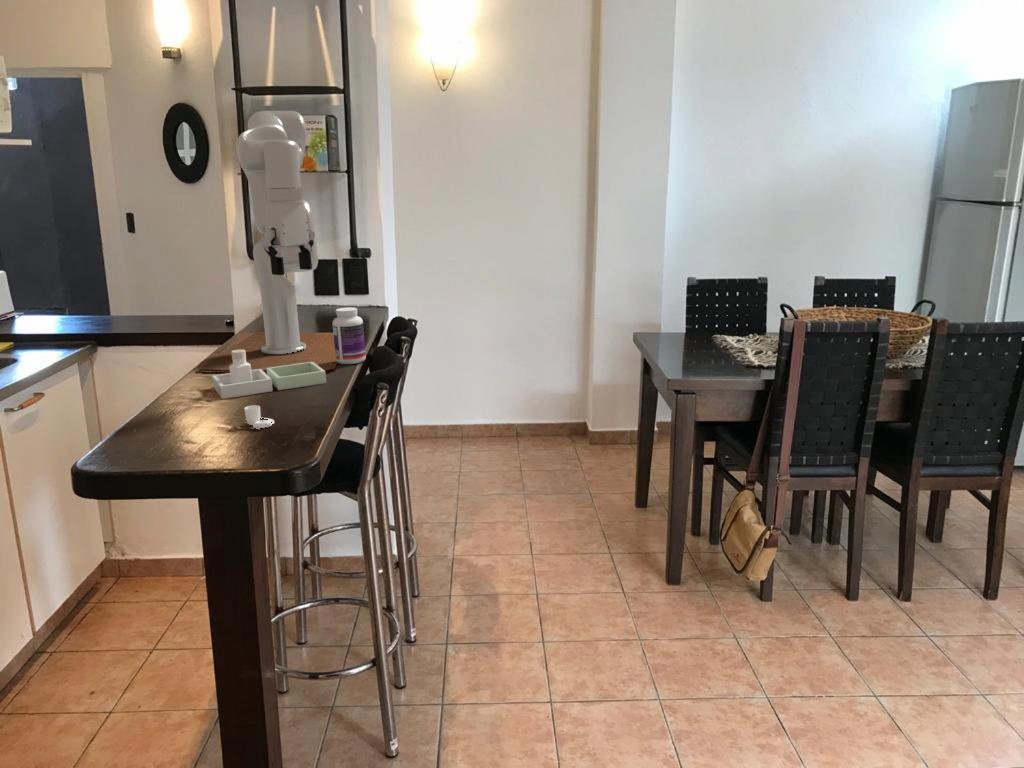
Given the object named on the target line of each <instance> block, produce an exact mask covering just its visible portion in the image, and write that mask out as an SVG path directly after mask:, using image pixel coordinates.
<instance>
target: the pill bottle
mask: <svg viewBox="0 0 1024 768" xmlns="http://www.w3.org/2000/svg"><path fill="white" fill-rule="evenodd" d="M335 314H336V316H337V317H335V318H334V319H333V321H332V331H333V332H332V333H333V334H332V335H333V341H334V342H333V343H334V353H335V360H336V362H337V363H338V364H340V365H341V364H342V365H354V364H360V363H362V362H364V361H365V360H366V359H367V358H366V357H367V353H366V341H365V332H364V321H363V319H362V317H360V316H358V308H356V307H349V306H348V307H340V308H337V309H335Z"/></svg>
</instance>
